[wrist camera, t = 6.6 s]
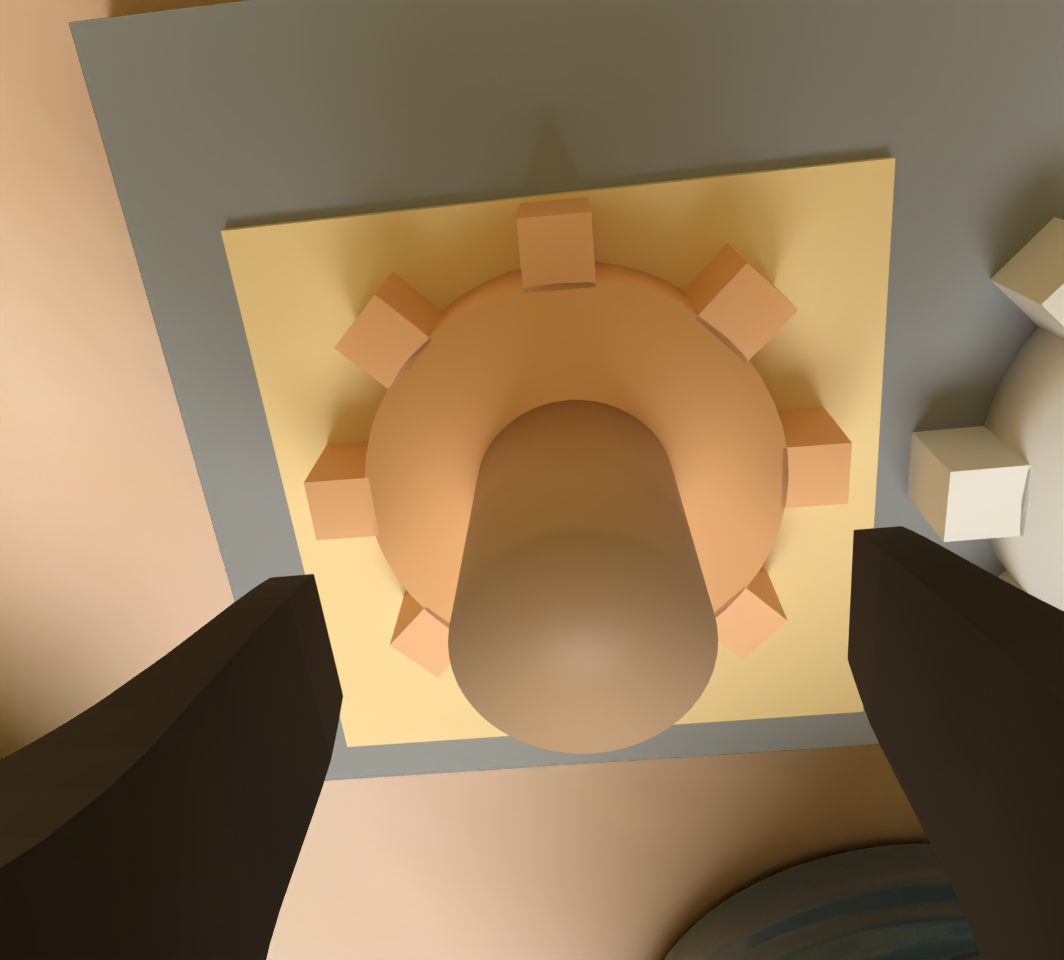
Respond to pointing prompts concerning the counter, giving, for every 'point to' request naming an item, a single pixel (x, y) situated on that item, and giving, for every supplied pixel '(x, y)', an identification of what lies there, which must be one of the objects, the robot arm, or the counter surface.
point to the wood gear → (577, 481)
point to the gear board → (618, 238)
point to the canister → (840, 912)
